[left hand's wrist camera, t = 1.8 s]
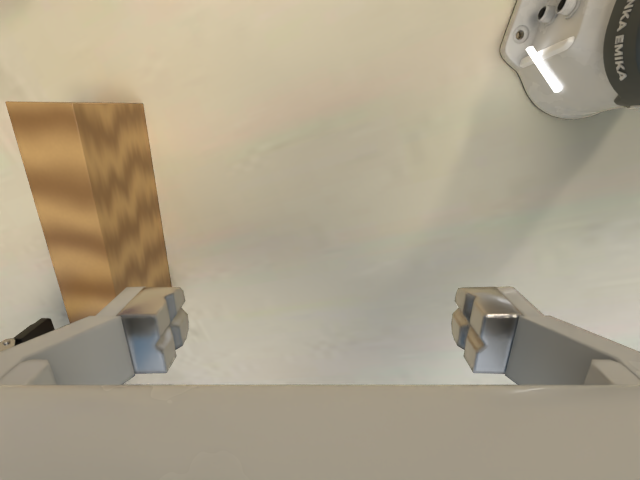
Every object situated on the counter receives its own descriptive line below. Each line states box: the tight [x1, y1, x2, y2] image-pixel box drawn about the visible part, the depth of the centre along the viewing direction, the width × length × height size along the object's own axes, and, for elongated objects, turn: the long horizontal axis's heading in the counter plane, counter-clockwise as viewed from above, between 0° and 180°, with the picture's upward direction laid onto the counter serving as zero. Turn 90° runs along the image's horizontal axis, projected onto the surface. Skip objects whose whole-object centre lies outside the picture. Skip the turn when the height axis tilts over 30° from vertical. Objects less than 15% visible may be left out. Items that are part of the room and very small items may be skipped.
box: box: [6, 102, 171, 324], centre depth 40 cm, size 26×6×12 cm, turn 179°
